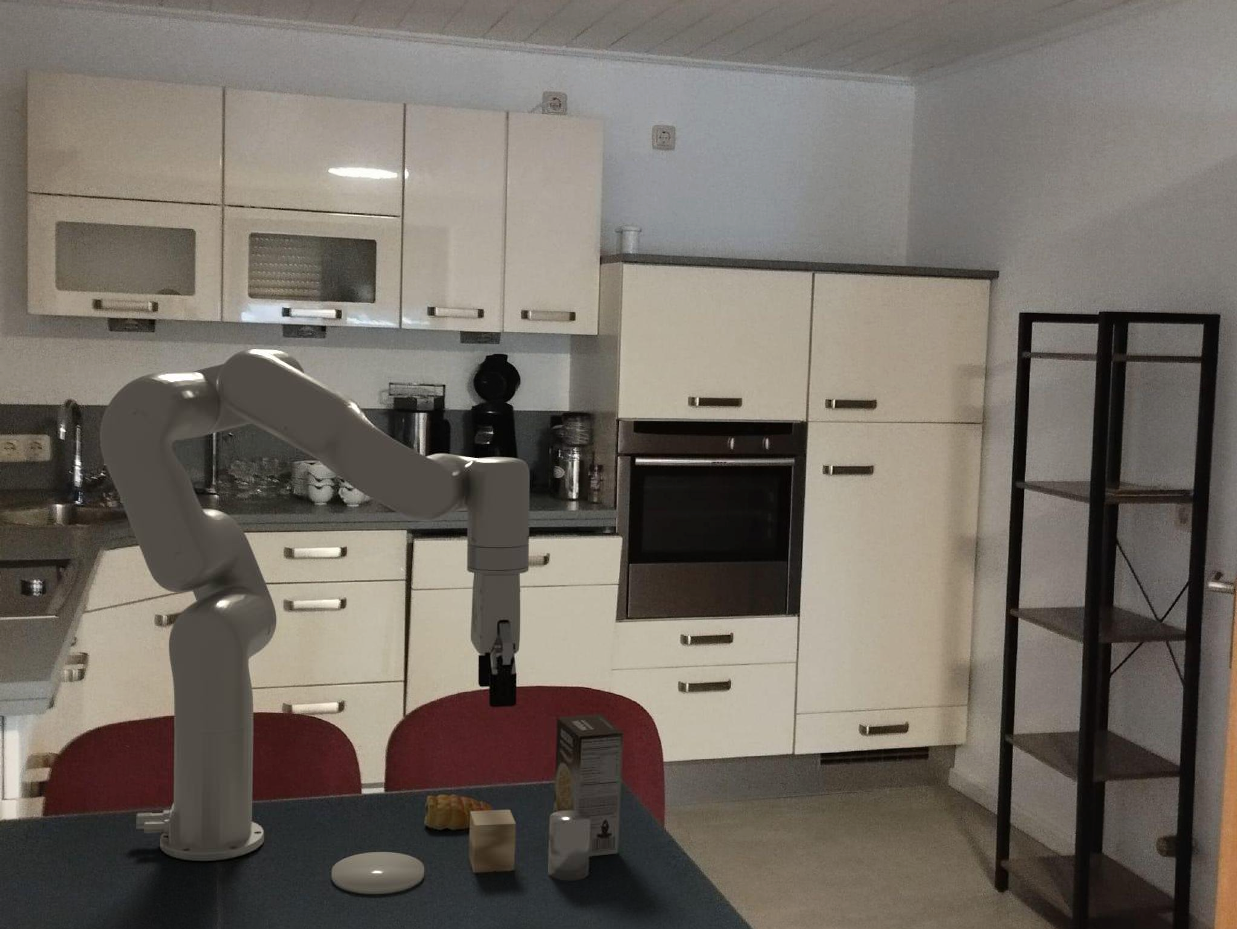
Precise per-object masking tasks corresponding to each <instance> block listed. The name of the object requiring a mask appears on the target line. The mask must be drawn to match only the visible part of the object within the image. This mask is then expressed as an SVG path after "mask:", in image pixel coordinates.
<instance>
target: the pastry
mask: <svg viewBox="0 0 1237 929" xmlns="http://www.w3.org/2000/svg"><path fill="white" fill-rule="evenodd" d="M488 810H494V807H493V806H491V805H489V804H488V803H486V801H485V802H484V801H478V800H476V799H475V798H474V799H473V798H470V797H466V796H459V795H457V794H451V795H447V794H439V795H438V796H434V795H427V797H426V802H425V805H424V812H425V817H424V821H423V823H424V825H425V826H426V827H427V828H430V829H432V828H433V830H435V829H437V830H439V831H443V830H444V829H449V830H451V831H458V830H457V829H460V830H466V829H465V828H470V811H488ZM437 830H436V831H437Z"/></svg>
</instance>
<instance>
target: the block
mask: <svg viewBox="0 0 1237 929" xmlns="http://www.w3.org/2000/svg"><path fill="white" fill-rule="evenodd" d="M516 827H517V826H516V821H515V819H514V816H513V814H512V812H511V810H510V809H496V810H495V809H493V810H488V811H470V829H469V836H468V837H469V839H468V858H469V859H470V860H469V862H470V866H471V865H472V866H471V870H472V872H473V873H475V874H476V873H492V872H493V873H494V871H496V872H511V870H514V871H515V858H516V856H515V855H516Z"/></svg>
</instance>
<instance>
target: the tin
mask: <svg viewBox="0 0 1237 929" xmlns="http://www.w3.org/2000/svg"><path fill="white" fill-rule="evenodd" d="M590 819H591V818H590V816H589V815H588V814H586V813H584V812H580V811H574V810H564V811H558V812H554V811H553V813H551V814H550V815H549V826H548V827H549V829H548V830H549V834H548V859H547V860H548V862H547V863H548V865H547V874H548V876H550V877H551V878H553V879H556V880H560V881H566V882H567V881H579V880H583V879H585V878H587V877H588V875H589V871H590V870H589V867H590V866H589V865H590V857H589V845H590Z"/></svg>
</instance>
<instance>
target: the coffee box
mask: <svg viewBox="0 0 1237 929" xmlns="http://www.w3.org/2000/svg"><path fill="white" fill-rule="evenodd" d="M556 721H557V722H556V742H555V743H556V746H555V769H554V770H555V772H554V795H553V799H554V801H553V813H554V812H558V811H564V810H574V811H580V812H584V813H586V814H588V815H589V816H590V818H591V819H590V845H589V858H591V857H597V856H598V857H599V856H607V855H616V854H618V853H619V836H620V835H619V830H620V812H621V811H620V810H621V809H620V808H621V791H622V790H621V789H622V788H621V787H622V773H623V772H622V768H623V750H624V732H623V731H621V729H619V728H618V727H617V726H615V725H614V724H613V723H612V722H611V721H610V720H608V719H607V718H606V717H605V716H604V715H603V714H602V713H594V714H583V715H579V714H578V715H569V716H559V717H557V718H556Z"/></svg>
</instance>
